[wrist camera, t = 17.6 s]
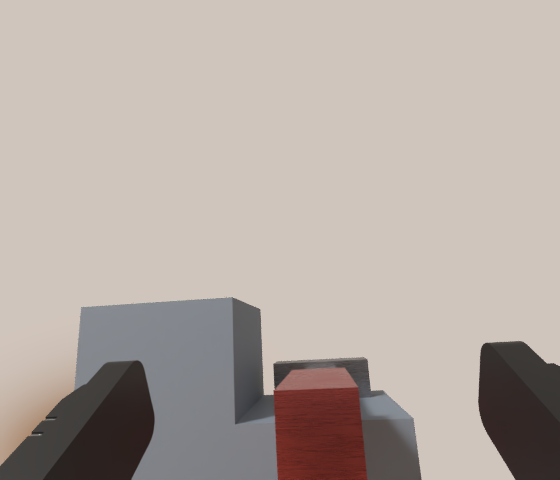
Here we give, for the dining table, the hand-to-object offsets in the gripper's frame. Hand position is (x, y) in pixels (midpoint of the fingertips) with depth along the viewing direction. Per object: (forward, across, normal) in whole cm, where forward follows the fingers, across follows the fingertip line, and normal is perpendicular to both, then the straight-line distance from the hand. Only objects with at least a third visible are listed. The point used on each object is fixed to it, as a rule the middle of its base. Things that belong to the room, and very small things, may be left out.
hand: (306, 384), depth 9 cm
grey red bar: (+12, 0, +12) cm, 17 cm away
